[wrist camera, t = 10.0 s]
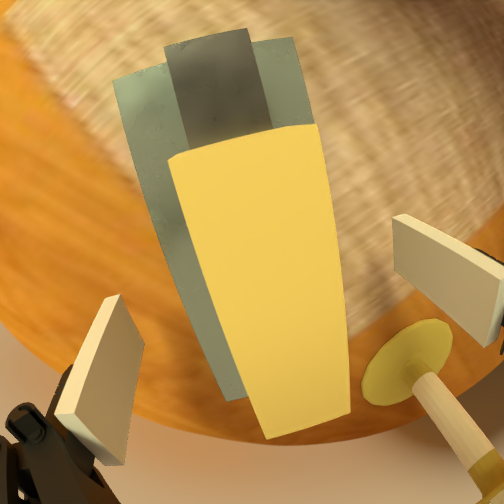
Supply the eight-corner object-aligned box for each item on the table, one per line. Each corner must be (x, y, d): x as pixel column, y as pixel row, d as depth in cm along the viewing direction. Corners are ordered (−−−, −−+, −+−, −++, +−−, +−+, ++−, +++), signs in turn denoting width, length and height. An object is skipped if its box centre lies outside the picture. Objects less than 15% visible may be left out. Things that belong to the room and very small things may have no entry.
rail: (117, 83, 13) (83, 65, 8) (287, 42, 13) (320, 10, 9) (225, 392, 21) (232, 446, 16) (342, 356, 21) (369, 403, 17)
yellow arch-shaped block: (183, 149, 13) (167, 160, 7) (267, 128, 14) (316, 123, 8) (246, 353, 18) (266, 439, 12) (310, 334, 18) (350, 412, 12)
